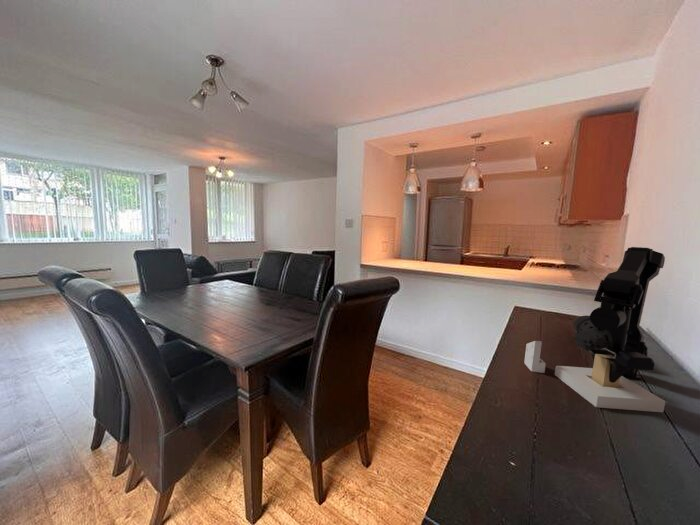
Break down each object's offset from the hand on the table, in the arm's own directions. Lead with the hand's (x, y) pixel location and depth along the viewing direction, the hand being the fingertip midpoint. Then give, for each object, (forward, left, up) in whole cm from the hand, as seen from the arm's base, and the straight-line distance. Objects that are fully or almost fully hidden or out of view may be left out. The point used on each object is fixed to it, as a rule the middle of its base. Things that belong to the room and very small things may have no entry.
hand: (605, 378), depth 78 cm
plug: (0, 0, -2) cm, 2 cm away
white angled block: (+12, -12, -4) cm, 17 cm away
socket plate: (0, 0, -4) cm, 4 cm away
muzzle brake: (-23, -32, -4) cm, 40 cm away
